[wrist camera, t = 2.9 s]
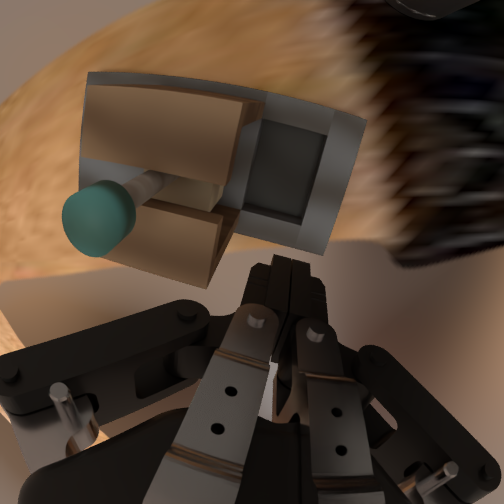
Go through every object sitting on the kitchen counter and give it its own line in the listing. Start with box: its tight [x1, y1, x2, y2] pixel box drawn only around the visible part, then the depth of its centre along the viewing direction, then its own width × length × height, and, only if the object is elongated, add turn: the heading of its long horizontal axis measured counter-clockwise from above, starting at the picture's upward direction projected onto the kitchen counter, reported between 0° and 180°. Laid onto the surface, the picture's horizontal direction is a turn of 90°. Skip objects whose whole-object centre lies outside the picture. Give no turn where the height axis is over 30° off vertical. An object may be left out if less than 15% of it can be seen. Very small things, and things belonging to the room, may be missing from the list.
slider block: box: [62, 169, 224, 257], centre depth 20 cm, size 7×6×17 cm
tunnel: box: [79, 72, 367, 289], centre depth 24 cm, size 14×28×14 cm, turn 77°
